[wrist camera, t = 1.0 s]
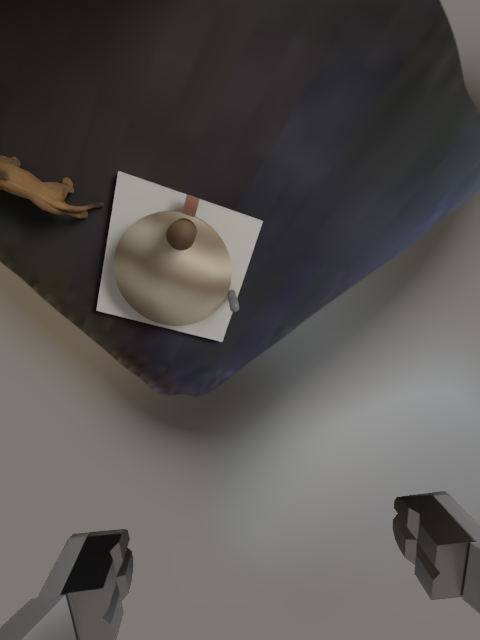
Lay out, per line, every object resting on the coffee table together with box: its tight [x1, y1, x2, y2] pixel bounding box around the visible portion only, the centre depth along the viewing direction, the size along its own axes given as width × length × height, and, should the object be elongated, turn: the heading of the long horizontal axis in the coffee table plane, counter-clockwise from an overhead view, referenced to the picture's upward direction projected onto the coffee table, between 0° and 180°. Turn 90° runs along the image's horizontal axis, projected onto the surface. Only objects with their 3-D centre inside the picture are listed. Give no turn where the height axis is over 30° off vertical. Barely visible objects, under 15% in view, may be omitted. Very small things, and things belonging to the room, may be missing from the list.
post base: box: [96, 171, 263, 342], centre depth 39 cm, size 19×19×8 cm
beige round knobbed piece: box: [113, 195, 232, 326], centre depth 36 cm, size 17×15×6 cm
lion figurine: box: [0, 155, 104, 219], centre depth 33 cm, size 15×5×9 cm, turn 75°
